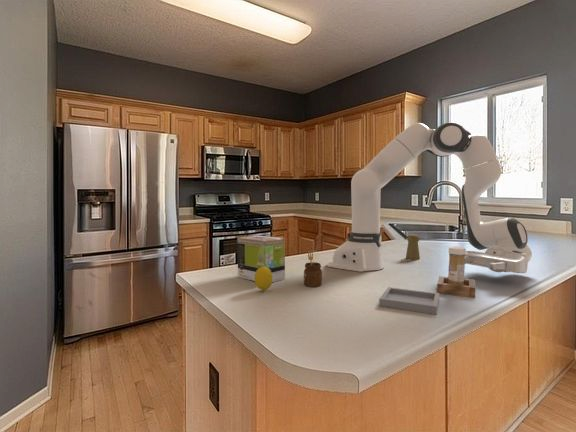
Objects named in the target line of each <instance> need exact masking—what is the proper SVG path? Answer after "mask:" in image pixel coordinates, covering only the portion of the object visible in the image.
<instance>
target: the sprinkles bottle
mask: <svg viewBox="0 0 576 432" xmlns="http://www.w3.org/2000/svg"><path fill="white" fill-rule="evenodd" d="M466 251H467V250H466V247H463V246H457V245H456V246H454V245H452V246H449V247H448V255H449V256H448V257H449V258H448V259H449V260H448V275H447V277H448V284H456V285H464V279H465V269H466V268H465V267H466V264H464V263H465V252H466Z"/></svg>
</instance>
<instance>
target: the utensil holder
mask: <svg viewBox="0 0 576 432" xmlns="http://www.w3.org/2000/svg"><path fill="white" fill-rule="evenodd" d="M318 255H319V253H318V251H317V250H315V251H313V250H307V257H308V258H307V259H308V260H309V262H306V263H305V264H304V270H303V284H304V286H306V287H310V288H317V287H320V286H321V285H322V284H323V271H322V269H321V267H322V265H321V263H319V262H318V259H319V257H318ZM314 258H315V259H316V261H314Z"/></svg>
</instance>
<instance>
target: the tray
mask: <svg viewBox="0 0 576 432" xmlns="http://www.w3.org/2000/svg"><path fill="white" fill-rule="evenodd" d="M439 303H440V293H437V292H434V291H433V292H431V291H423V290H416V289H415V290H414V289H407V288H400V287H398V288H397V287H390V286H389V287H387V288H386V289H385V291H384V292H383V293H382V295H381V296H380V297H379V299H378V305H379V307H385V308H389V309H390V308H391V309H396V310H397V309H398V310H404V311H411V312H416V313H417V312H418V313H424V314H429V315H431V314H432V315H437V312H438V307H439Z"/></svg>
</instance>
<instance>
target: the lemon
mask: <svg viewBox="0 0 576 432" xmlns="http://www.w3.org/2000/svg"><path fill="white" fill-rule="evenodd" d="M254 284H255V286H256V287H257V289H259V290H261V291H262V292H265V291H266V290H268V289H269V288H270V287H271V286H272V284H273V282H272V273H271V271H270V269H268V268H267V267H265V266H262V267H260V268H259V269H257V271H256V273H255V281H254Z"/></svg>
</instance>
